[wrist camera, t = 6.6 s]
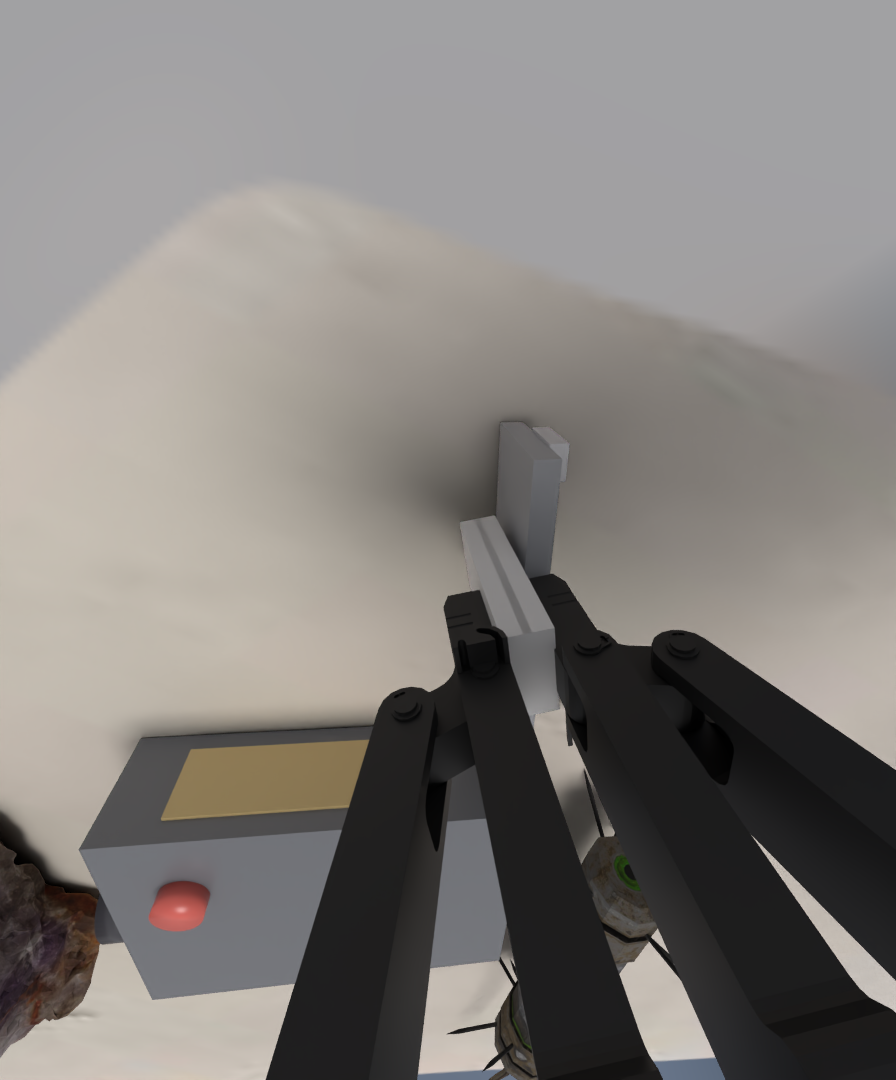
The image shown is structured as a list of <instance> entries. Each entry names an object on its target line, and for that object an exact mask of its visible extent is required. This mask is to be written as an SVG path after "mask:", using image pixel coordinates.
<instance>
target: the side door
mask: <svg viewBox="0 0 896 1080" xmlns="http://www.w3.org/2000/svg"><path fill="white" fill-rule="evenodd" d="M569 447H570V443H569V442H568V441H566V440H565V439H564V438H563V437H561V436H560V435H559V434H558V433H557V432H555V431H554V430H553V429H552V428H550V427H532V430H531V429H530V428H529V427H528V426H526V425H525V424H524V423H523V422H500V440H499V462H498V485H497V507H496V519H497V521H498V522H499V524H500V526H501V528H502V530H503V532H504V534H505V536H506V537H507V539H508V541H509V543H510V545H511V547H512V549H513V551H514V552H515V554H516V556H517V558H518V560H519V562H520V564H521V566H522V567H523V569H524V571H525V573H526V575H527V577H528V579H529V578H534V577H539V576H543V575H548V574H550V570H551V561H552V551H553V542H554V533H555V523H556V514H557V505H558V495H559V486H560V482H566V473H567V464H568V455H569ZM529 717H530V720H531V723H532V726H533V728H534V719H535V715H530V716H529Z"/></svg>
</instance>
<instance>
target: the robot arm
mask: <svg viewBox="0 0 896 1080" xmlns="http://www.w3.org/2000/svg"><path fill="white" fill-rule="evenodd" d="M460 528H461V535H462V541H463V547H464V553H465V560H466V566H467V572H468V578H469V585H470V588H471V591H470V592H466V593H461V594H456V595H451V596H448V597H447V600H446V602H445V605H444V612H445V617H446V623H447V628H448V633H449V638H450V643H451V648H452V653H453V658H454V662H455V669H454V672H453V674H452V676H451V677H450V679H449V680H448V681H447V682H446V683H445V684H444V685H442V686H440V687H439V688H437V689H435V690H433V691H431V692H427V691H426V690H424V689H422V688H416V687H408V688H402V689H399V690H397V691H395V692H393V693H391V694H390V695H389V696H388V697H387V698H386V699H384V700H383V702H382V704H381V706H380V708H379V710H378V713H377V716H376V719H375V723H374V726H373V729H372V733H371V736H370V739H369V742H368V746H367V749H366V752H365V756H364V759H363V762H362V765H361V769H360V772H359V775H358V779H357V782H356V785H355V788H354V792H353V795H352V798H351V802H350V805H349V808H348V811H347V815H346V818H345V821H344V825H343V828H342V831H341V834H340V838H339V841H338V844H337V848H336V851H335V854H334V857H333V861H332V864H331V867H330V870H329V874H328V877H327V880H326V884H325V887H324V890H323V893H322V897H321V900H320V903H319V907H318V910H317V913H316V916H315V920H314V923H313V926H312V930H311V933H310V936H309V939H308V943H307V946H306V949H305V953H304V956H303V959H302V962H301V966H300V969H299V972H298V976H297V979H296V982H295V985H294V989H293V992H292V995H291V999H290V1002H289V1005H288V1008H287V1012H286V1015H285V1018H284V1022H283V1025H282V1028H281V1031H280V1035H279V1038H278V1041H277V1045H276V1048H275V1051H274V1054H273V1058H272V1061H271V1064H270V1068H269V1071H268V1074H267V1077H266V1080H417V1076H418V1067H419V1059H420V1050H421V1042H422V1033H423V1025H424V1016H425V1008H426V999H427V991H428V982H429V973H430V965H431V956H432V948H433V939H434V931H435V922H436V914H437V905H438V896H439V888H440V879H441V871H442V862H443V854H444V845H445V837H446V828H447V820H448V811H449V802H450V794H451V785H452V778H453V777H455V776H456V775H458V774H460V773H462V772H463V771H465V770H467V769H468V768H470V767H472V766H474V765H475V766H476V771H477V776H478V781H479V786H480V791H481V796H482V801H483V806H484V811H485V816H486V821H487V826H488V831H489V836H490V841H491V847H492V852H493V857H494V862H495V867H496V872H497V877H498V882H499V887H500V892H501V897H502V902H503V907H504V912H505V917H506V922H507V927H508V932H509V937H510V942H511V948H512V953H513V958H514V963H515V968H516V973H517V978H518V983H519V988H520V993H521V998H522V1003H523V1008H524V1013H525V1018H526V1023H527V1028H528V1033H529V1038H530V1043H531V1049H532V1054H533V1059H534V1064H535V1069H536V1074H537V1079H538V1080H663V1078H662V1076H661V1074H660V1072H659V1070H658V1068H657V1067H656V1065H655V1063H654V1062H653V1060H652V1059H651V1057H650V1056H649V1054H648V1052H647V1050H646V1047H645V1045H644V1043H643V1040H642V1038H641V1035H640V1032H639V1030H638V1027H637V1024H636V1021H635V1018H634V1015H633V1012H632V1010H631V1007H630V1004H629V1001H628V998H627V995H626V992H625V990H624V987H623V984H622V981H621V978H620V975H619V972H618V969H617V967H616V964H615V961H614V958H613V955H612V952H611V949H610V947H609V944H608V941H607V938H606V935H605V932H604V929H603V926H602V924H601V921H600V918H599V915H598V912H597V909H596V906H595V904H594V901H593V898H592V895H591V892H590V889H589V886H588V883H587V881H586V878H585V875H584V872H583V869H582V866H581V863H580V861H579V858H578V855H577V852H576V849H575V846H574V843H573V840H572V838H571V835H570V832H569V829H568V826H567V823H566V820H565V818H564V815H563V812H562V809H561V806H560V803H559V800H558V798H557V795H556V792H555V789H554V786H553V783H552V780H551V777H550V775H549V772H548V769H547V766H546V763H545V760H544V757H543V755H542V752H541V749H540V746H539V743H538V740H537V737H536V734H535V732H534V729H533V726H532V723H531V720H530V717H529V716H530V715H535V714H540V713H544V712H549V711H554V710H558V709H560V706H559V697H560V699H561V701H562V703H563V705H564V708H565V711H566V729H567V741H568V746H572V745H573V742H572V737H573V740H574V742H575V744H576V746H577V749H578V751H579V753H580V755H581V757H582V760H583V762H584V764H585V766H586V769H587V771H588V773H589V775H590V778H591V780H592V782H593V784H594V787H595V789H596V791H597V793H598V795H599V798H600V800H601V802H602V804H603V807H604V809H605V811H606V813H607V816H608V818H609V820H610V822H611V824H612V827H613V829H614V831H615V833H616V836H617V838H618V840H619V842H620V845H621V847H622V849H623V851H624V854H625V856H626V858H627V860H628V862H629V865H630V867H631V869H632V871H633V874H634V876H635V878H636V880H637V883H638V885H639V887H640V889H641V892H642V894H643V896H644V898H645V900H646V903H647V905H648V907H649V909H650V912H651V914H652V916H653V918H654V921H655V923H656V925H657V927H658V930H659V932H660V934H661V936H662V938H663V941H664V943H665V945H666V947H667V950H668V952H669V954H670V956H671V959H672V961H673V963H674V965H675V967H676V970H677V972H678V974H679V976H680V979H681V981H682V983H683V985H684V988H685V990H686V992H687V994H688V997H689V999H690V1001H691V1003H692V1005H693V1008H694V1010H695V1012H696V1014H697V1017H698V1019H699V1021H700V1023H701V1026H702V1028H703V1030H704V1032H705V1035H706V1037H707V1039H708V1041H709V1043H710V1046H711V1048H712V1050H713V1052H714V1055H715V1057H716V1059H717V1061H718V1063H719V1066H720V1068H721V1070H722V1072H723V1075H724V1077H725V1080H896V1013H895V1012H894V1011H893V1010H892V1009H890V1008H888V1007H886V1006H884V1005H883V1004H881V1003H879V1002H877V1001H875V1000H873V999H871V998H869V997H868V996H867V995H866V994H865V993H864V992H863V991H862V990H861V989H860V988H859V987H858V986H857V985H856V983H855V982H854V981H853V980H852V978H851V977H850V976H849V974H848V973H847V972H846V970H845V969H844V967H843V966H842V964H841V963H840V962H839V960H838V959H837V957H836V956H835V954H834V953H833V952H832V950H831V949H830V947H829V946H828V944H827V943H826V942H825V940H824V939H823V937H822V936H821V934H820V933H819V931H818V930H817V929H816V927H815V926H814V924H813V923H812V921H811V920H810V919H809V917H808V916H807V914H806V913H805V911H804V910H803V909H802V907H801V906H800V904H799V903H798V901H797V900H796V899H795V897H794V896H793V894H792V893H791V891H790V890H789V889H788V887H787V886H786V884H785V883H784V881H783V880H782V879H781V877H780V876H779V874H778V873H777V871H776V870H775V868H774V867H773V866H772V864H771V863H770V861H769V860H768V858H767V857H766V856H765V854H764V853H763V851H762V850H761V848H760V847H759V846H758V844H757V843H756V841H755V840H754V838H755V839H756V840H757V841H758V842H759V843H760V844H761V845H762V846H763V847H764V848H765V849H766V850H767V851H768V852H769V853H770V854H771V855H772V856H773V857H774V858H775V859H776V860H777V861H778V862H779V863H780V864H781V865H782V866H783V867H784V868H785V869H786V870H787V871H788V872H789V873H790V874H791V875H792V876H793V877H794V878H795V879H796V880H797V881H798V882H799V883H800V884H801V885H802V886H803V887H804V888H805V889H806V890H807V891H808V892H809V893H810V894H811V895H812V896H813V897H814V898H815V899H816V900H817V901H818V902H819V904H820V905H821V906H822V907H823V908H824V909H825V910H826V911H827V912H828V913H829V914H830V915H831V916H832V917H833V918H834V919H835V920H836V921H837V922H838V923H839V924H840V925H841V926H842V927H843V928H844V929H845V930H846V931H847V932H848V933H849V934H850V935H851V936H852V937H853V938H854V939H855V940H856V941H857V942H858V943H859V944H860V945H861V946H862V947H863V948H864V949H865V950H866V951H867V952H868V953H869V954H870V955H871V956H872V957H873V958H874V959H875V960H876V961H877V962H878V963H879V964H880V965H881V966H882V967H883V968H884V969H885V970H886V971H887V972H888V973H889V974H890V975H891V976H892V977H893V978H894V979H895V980H896V770H895V769H893V768H892V767H890V766H889V765H888V764H886V763H885V762H883V761H882V760H880V759H879V758H877V757H876V756H874V755H873V754H872V753H870V752H869V751H867V750H866V749H864V748H863V747H861V746H860V745H859V744H857V743H856V742H854V741H853V740H851V739H850V738H848V737H847V736H845V735H844V734H843V733H841V732H840V731H838V730H837V729H835V728H834V727H832V726H831V725H829V724H828V723H827V722H825V721H824V720H822V719H821V718H819V717H818V716H816V715H815V714H813V713H812V712H811V711H809V710H808V709H806V708H805V707H803V706H802V705H800V704H799V703H798V702H796V701H795V700H793V699H792V698H790V697H789V696H787V695H786V694H784V693H783V692H782V691H780V690H779V689H777V688H776V687H774V686H773V685H771V684H770V683H768V682H767V681H766V680H764V679H763V678H761V677H760V676H758V675H757V674H755V673H754V672H752V671H751V670H750V669H748V668H747V667H745V666H744V665H742V664H741V663H739V662H738V661H737V660H735V659H734V658H732V657H731V656H729V655H728V654H726V653H725V652H723V651H722V650H721V649H719V648H718V647H716V646H715V645H713V644H712V643H710V642H709V641H707V640H706V639H705V638H703V637H701V636H699V635H697V634H695V633H691V632H687V631H683V630H670V631H666V632H662V633H660V634H659V635H657V636H656V637H654V640H653V642H652V646H628V645H621V644H617V642H616V641H615V640H614V639H613V638H612V637H611V636H610V635H609V634H607V633H604V632H602V631H600V630H597V629H596V628H595V626H594V625H593V623H592V622H591V620H590V619H589V617H588V616H587V614H586V613H585V611H584V610H583V608H582V607H581V605H580V604H579V602H578V601H577V599H576V597H575V596H574V594H573V593H572V592H571V590H570V588H569V587H568V585H567V584H566V582H565V581H564V580H562V579H561V578H559V577H557V576H556V575H554V574H548V575H543V576H539V577H534V578H529V579H528V577H527V575H526V573H525V571H524V569H523V567H522V566H521V564H520V562H519V560H518V558H517V556H516V554H515V552H514V551H513V549H512V547H511V545H510V543H509V541H508V539H507V537H506V536H505V534H504V532H503V530H502V528H501V526H500V524H499V522H498V521H497V519H496V517H495V515H494V516H488V517H483V518H478V519H473V520H468V521H463V522H460ZM751 835H752V836H753V837H754V838H753V837H752V836H751Z"/></svg>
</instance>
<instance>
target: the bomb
mask: <svg viewBox="0 0 896 1080" xmlns="http://www.w3.org/2000/svg"><path fill="white" fill-rule="evenodd" d="M584 773H585V778H586V784H587V789H588V792H589V796H590V800H591V803H592V807H593V811H594V815H595V818H596V822H597V826H598V829H599V833H600V837H598V839H597V840H596V842H595V843H594V845H593V846H592V848H591V849H590V851H589V852H588V854H587V855H586V857H585V859H584V861H583V863H582V864H581V866H582V869H583V872H584V875H585V878H586V881H587V883H588V886H589V889H590V892H591V895H592V898H593V901H594V904H595V906H596V909H597V912H598V915H599V918H600V921H601V924H602V926H603V929H604V932H605V935H606V938H607V941H608V944H609V947H610V949H611V952H612V955H613V958H614V961H615V964H616V967H617V969H618V972H619V973H620V972H621V971H622V969H623V968H624V967H625V965H626V964H627V963H628V962H634V961H635V959H636V958H637V957H638V955H639V954H640V953H641V951H642V950H643V949H644V947H645V946H646V945H647V943H648V942H650V943H651V944H652V946H653V947H654V948H655V949H656V950H657V952H658V953H659V954H660V955H661V957H662V958H663V959H664V960H665V961H666V963H667V964H668V965H669V966H670V968H671V969H672V970H673V971H674V972H675V974H676V975H677V976H678V977H679V979H680V976H679V974H678V972H677V970H676V967H675V965H674V963H673V961H672V959H671V956H670V954H669V953H668V952H666V951H665V950H664V949H663V948H662V947H661V946H660V945H659V944H658V943H656V942H655V941H654V940H653V939H652V938H651V936H652V935H653V934H654V932H655V931H656V930H657V928H658V927H657V925H656V923H655V921H654V918H653V916H652V914H651V912H650V909H649V907H648V905H647V903H646V900H645V898H644V896H643V894H642V892H641V889H640V887H639V885H638V883H637V880H636V878H635V876H634V874H633V871H632V869H631V867H630V865H629V862H628V860H627V858H626V856H625V854H624V851H623V849H622V847H621V845H620V842H619V840H618V838H617V836H616V833H615V834H614V836H612V837H604V833H603V830H602V826H601V822H600V819H599V815H598V811H597V808H596V804H595V800H594V796H593V793H592V789H591V785H590V783H589V780H588V777H587V775H586V772H585V769H584ZM510 960H511V959H510ZM499 962H500V964H501V965H502V967H503V969H504V971H505V972H506V974H507V976H508V978H509V979H510V981H511V983H512V985H513V988H512V989H511V991H510V993H509V994H508V996H507V998H506V1000H505V1001H504V1003H503V1005H502V1007H501V1010H500V1012H499V1013H498V1015H497V1017H496V1019H495V1022H494V1023H488V1024H483V1025H478V1026H473V1027H467V1028H462V1029H458V1030H455V1031H453V1032H450V1033H448V1034H460V1033H465V1032H470V1031H475V1030H480V1029H486V1028H491V1027H495V1047H496V1049H497V1052H498V1055H497V1056H496V1057H494V1058H493V1059H492V1060H491V1061H490V1062H489V1063H488V1065H487V1066H486V1067H485V1069H484V1070H483V1071H485V1070H486V1069H488V1068H490V1067H491V1066H493V1065H494V1064H495V1063H496V1062H497V1061H498V1060H500V1059H501V1061H502V1063H503V1065H504V1069H503V1070H501V1071H500V1072H498V1073H497V1074H495V1075H494V1076H493V1077H491V1078H490V1079H489V1080H500V1079H502V1078H504V1077H506V1076H508V1075H509V1074H511V1075H512V1076H513V1077H514V1078H516V1079H517V1080H538V1079H537V1074H536V1069H535V1064H534V1059H533V1054H532V1049H531V1043H530V1038H529V1033H528V1028H527V1023H526V1018H525V1013H524V1008H523V1003H522V998H521V993H520V988H519V983H518V978H517V982H516V983H515V982H514V980H513V978H512V976H511V975H510V973H509V971H508V969H507V968H506V966H505V964H504V962H503V961H502V959H501V957H500V959H499ZM511 964H512V967H513V970H514V973H515V975H516V977H517V973H516V968H515V966H514V964H513V963H512V961H511ZM680 980H681V979H680Z"/></svg>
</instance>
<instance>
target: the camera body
mask: <svg viewBox="0 0 896 1080" xmlns="http://www.w3.org/2000/svg"><path fill="white" fill-rule="evenodd" d="M372 729H373V726H372V727H352V728H333V729H313V730H294V731H274V732H254V733H235V734H215V735H196V736H176V737H157V738H141V739H140V741H139V743H138V745H137V747H136V748H135V750H134V752H133V754H132V756H131V757H130V759H129V761H128V763H127V764H126V766H125V768H124V770H123V772H122V773H121V775H120V777H119V779H118V781H117V782H116V784H115V786H114V788H113V790H112V791H111V793H110V795H109V797H108V798H107V800H106V802H105V804H104V806H103V807H102V809H101V811H100V813H99V815H98V816H97V818H96V820H95V822H94V824H93V825H92V827H91V829H90V831H89V833H88V834H87V836H86V838H85V840H84V841H83V843H82V845H81V847H80V849H79V851H80V853H81V855H82V857H83V859H84V861H85V864H86V866H87V868H88V870H89V872H90V874H91V876H92V878H93V880H94V882H95V884H96V886H97V888H98V890H99V892H100V894H99V898H98V902H97V906H96V912H95V923H94V926H95V935H96V939H97V941H98V942H99V943H100V944H113V943H123V942H124V943H125V945H126V947H127V949H128V951H129V953H130V955H131V957H132V959H133V961H134V963H135V965H136V967H137V969H138V971H139V973H140V975H141V977H142V979H143V981H144V984H145V986H146V988H147V990H148V992H149V994H150V996H151V998H152V1000H156V999H165V998H174V997H183V996H191V995H200V994H209V993H218V992H226V991H235V990H244V989H253V988H261V987H270V986H279V985H288V984H295V982H296V979H297V976H298V972H299V969H300V966H301V962H302V959H303V956H304V953H305V949H306V946H307V943H308V939H309V936H310V933H311V930H312V926H313V923H314V920H315V916H316V913H317V910H318V907H319V903H320V900H321V897H322V893H323V890H324V887H325V884H326V880H327V877H328V874H329V870H330V867H331V864H332V861H333V857H334V854H335V851H336V848H337V844H338V841H339V838H340V834H341V831H342V828H343V825H344V821H345V818H346V815H347V811H348V808H349V805H350V802H351V798H352V795H353V792H354V788H355V785H356V782H357V779H358V775H359V772H360V769H361V765H362V762H363V759H364V756H365V752H366V749H367V746H368V742H369V739H370V736H371V733H372ZM506 925H507V922H506V917H505V912H504V907H503V902H502V897H501V892H500V887H499V882H498V877H497V872H496V867H495V862H494V857H493V852H492V847H491V841H490V836H489V831H488V826H487V821H486V816H485V811H484V806H483V801H482V796H481V791H480V786H479V781H478V776H477V771H476V766H475V765H474V766H472V767H470V768H468V769H467V770H465V771H463V772H462V773H460V774H458V775H456V776H455V777H453V778H452V785H451V794H450V802H449V811H448V820H447V828H446V837H445V845H444V854H443V862H442V871H441V879H440V888H439V896H438V905H437V914H436V922H435V931H434V939H433V948H432V956H431V965H430V968H437V967H445V966H454V965H463V964H472V963H480V962H489V961H498V960H499V959H500V954H501V949H502V944H503V939H504V935H505V930H506Z"/></svg>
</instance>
